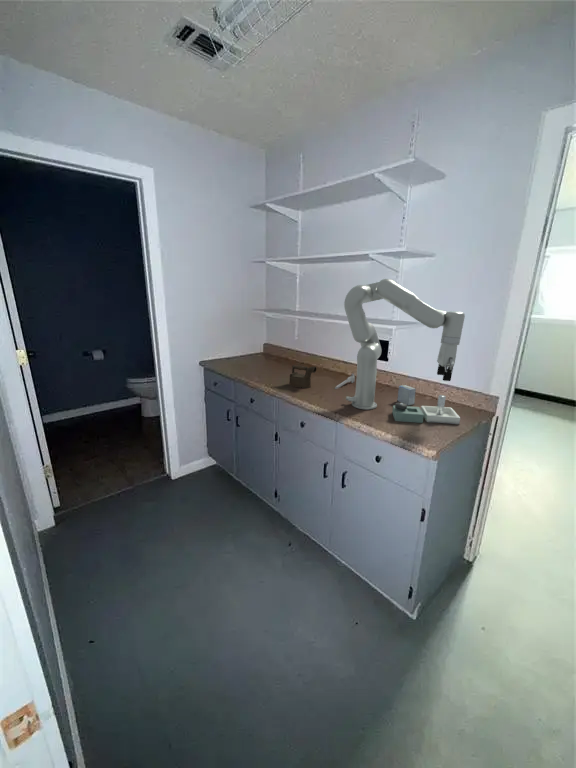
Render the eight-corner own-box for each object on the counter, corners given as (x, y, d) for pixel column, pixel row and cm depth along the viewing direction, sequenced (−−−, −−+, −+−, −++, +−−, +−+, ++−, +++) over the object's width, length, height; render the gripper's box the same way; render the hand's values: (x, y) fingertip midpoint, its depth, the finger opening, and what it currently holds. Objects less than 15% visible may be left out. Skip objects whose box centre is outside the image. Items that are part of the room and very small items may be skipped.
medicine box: (414, 404, 173) (416, 388, 171) (408, 405, 171) (410, 389, 169) (403, 399, 180) (404, 384, 177) (396, 401, 178) (398, 385, 175)
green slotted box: (395, 420, 151) (396, 406, 149) (392, 413, 161) (393, 399, 159) (422, 422, 149) (424, 408, 147) (418, 414, 159) (419, 401, 157)
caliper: (352, 382, 212) (353, 372, 211) (354, 382, 212) (355, 373, 210) (334, 389, 198) (334, 379, 196) (335, 389, 197) (336, 379, 196)
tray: (426, 422, 151) (427, 415, 150) (420, 411, 163) (421, 405, 162) (459, 424, 148) (460, 417, 147) (450, 413, 161) (451, 407, 160)
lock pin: (436, 417, 154) (439, 396, 151) (434, 414, 157) (437, 394, 154) (443, 417, 154) (446, 397, 151) (441, 415, 156) (444, 395, 154)
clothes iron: (310, 390, 195) (311, 368, 191) (288, 385, 203) (288, 364, 200) (317, 386, 201) (318, 365, 197) (295, 382, 210) (295, 361, 206)
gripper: (436, 336, 154) (430, 372, 159) (447, 343, 138) (439, 382, 143) (453, 337, 153) (446, 373, 158) (466, 344, 136) (458, 383, 142)
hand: (443, 377), depth 150 cm, fingers open, 9 cm apart
